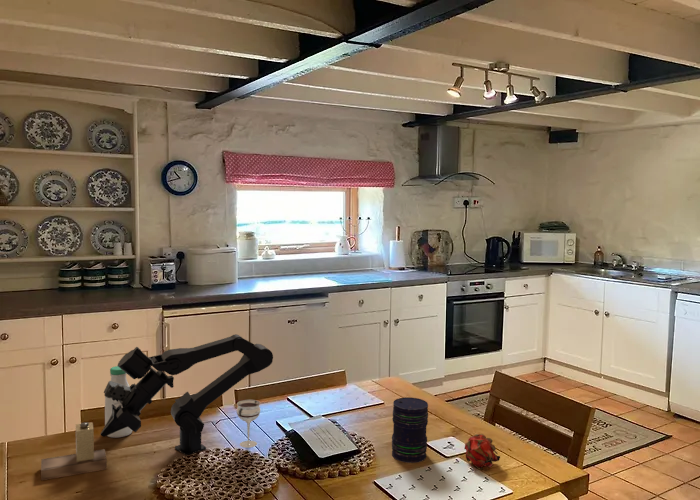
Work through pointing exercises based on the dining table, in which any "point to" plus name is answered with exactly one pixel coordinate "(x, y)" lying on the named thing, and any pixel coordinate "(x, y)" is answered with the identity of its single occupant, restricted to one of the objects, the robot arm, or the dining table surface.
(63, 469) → the body
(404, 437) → the dark blue cylinder
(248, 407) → the wineglass
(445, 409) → the dining table surface
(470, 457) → the dragon fruit
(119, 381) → the milk bottle
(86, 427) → the beige rectangular block
